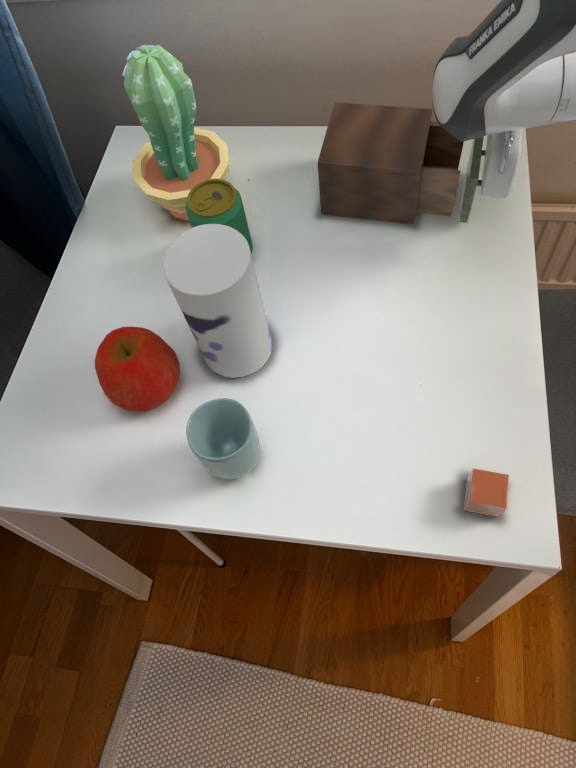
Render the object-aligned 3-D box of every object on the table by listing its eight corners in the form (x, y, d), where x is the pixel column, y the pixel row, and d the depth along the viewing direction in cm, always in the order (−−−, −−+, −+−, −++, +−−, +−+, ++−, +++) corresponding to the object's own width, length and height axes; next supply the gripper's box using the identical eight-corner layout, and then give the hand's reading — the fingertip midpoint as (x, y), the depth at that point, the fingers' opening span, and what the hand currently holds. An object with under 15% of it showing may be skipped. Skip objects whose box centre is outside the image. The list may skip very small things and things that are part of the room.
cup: (211, 494, 73) (192, 469, 64) (199, 438, 77) (179, 408, 68) (271, 476, 73) (259, 449, 64) (256, 422, 77) (243, 389, 68)
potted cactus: (246, 166, 98) (215, 18, 76) (229, 238, 91) (189, 98, 69) (160, 164, 100) (104, 19, 78) (137, 233, 94) (69, 97, 72)
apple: (198, 362, 82) (178, 322, 72) (163, 430, 78) (137, 396, 68) (133, 341, 84) (105, 300, 75) (96, 405, 80) (62, 369, 71)
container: (193, 369, 81) (148, 284, 64) (217, 311, 85) (181, 216, 68) (260, 385, 79) (232, 301, 61) (281, 324, 83) (261, 230, 65)
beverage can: (264, 253, 89) (251, 196, 79) (223, 283, 88) (205, 228, 77) (233, 225, 93) (217, 166, 82) (193, 253, 91) (171, 197, 80)
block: (501, 484, 70) (509, 474, 66) (498, 517, 68) (506, 508, 65) (467, 478, 71) (473, 468, 67) (463, 510, 69) (469, 501, 65)
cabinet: (424, 165, 94) (432, 108, 85) (414, 224, 89) (421, 171, 79) (336, 157, 97) (334, 102, 87) (321, 214, 92) (317, 162, 82)
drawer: (504, 170, 91) (519, 123, 83) (499, 226, 86) (513, 181, 78) (389, 160, 94) (392, 114, 86) (377, 213, 89) (379, 169, 82)
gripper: (537, 149, 67) (509, 230, 80) (544, 38, 76) (518, 127, 88) (481, 145, 69) (462, 225, 81) (494, 36, 77) (475, 124, 89)
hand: (491, 173), depth 85 cm, fingers closed, pressing on drawer
